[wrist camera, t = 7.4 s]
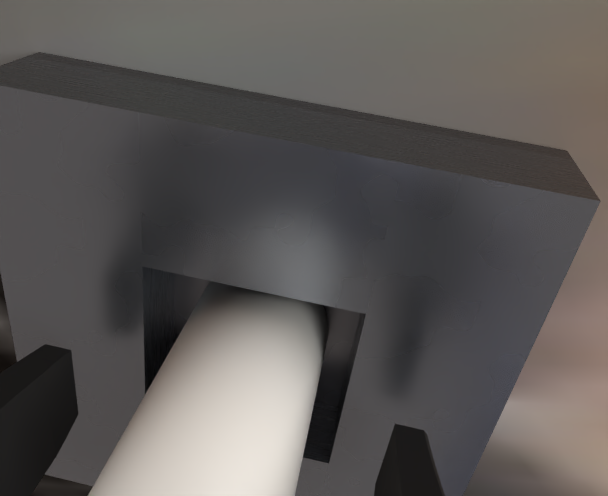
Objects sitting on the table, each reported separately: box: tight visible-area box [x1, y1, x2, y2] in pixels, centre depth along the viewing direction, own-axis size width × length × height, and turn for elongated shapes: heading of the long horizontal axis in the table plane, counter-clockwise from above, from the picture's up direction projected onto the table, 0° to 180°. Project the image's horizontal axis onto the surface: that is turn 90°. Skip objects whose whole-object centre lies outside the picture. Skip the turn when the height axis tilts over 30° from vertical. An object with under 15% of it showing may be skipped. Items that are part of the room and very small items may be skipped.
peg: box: [88, 281, 329, 496], centre depth 12 cm, size 4×4×7 cm
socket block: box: [0, 52, 600, 496], centre depth 14 cm, size 12×12×2 cm
